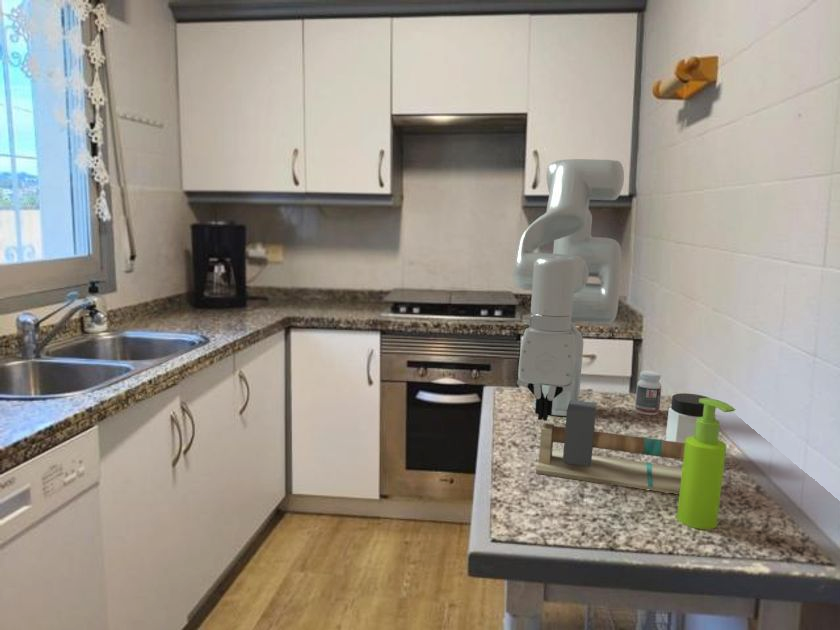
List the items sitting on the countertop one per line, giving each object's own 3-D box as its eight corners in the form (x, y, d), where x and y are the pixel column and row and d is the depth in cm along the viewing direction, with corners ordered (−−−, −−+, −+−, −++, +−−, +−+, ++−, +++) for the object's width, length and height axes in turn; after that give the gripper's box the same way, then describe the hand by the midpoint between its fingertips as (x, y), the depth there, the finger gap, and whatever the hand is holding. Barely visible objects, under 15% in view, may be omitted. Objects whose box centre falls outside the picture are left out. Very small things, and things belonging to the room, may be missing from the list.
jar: (692, 466, 130) (698, 406, 128) (656, 452, 136) (662, 396, 135) (718, 458, 135) (725, 401, 133) (683, 445, 141) (689, 391, 140)
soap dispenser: (702, 535, 101) (717, 408, 98) (668, 515, 108) (681, 395, 104) (730, 529, 104) (745, 405, 101) (696, 510, 110) (709, 393, 107)
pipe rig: (543, 451, 134) (546, 416, 133) (703, 474, 126) (708, 436, 124) (535, 473, 123) (538, 434, 121) (711, 500, 114) (716, 458, 113)
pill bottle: (662, 416, 162) (666, 376, 161) (638, 415, 162) (642, 375, 161) (654, 409, 168) (658, 371, 166) (631, 408, 168) (635, 370, 166)
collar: (566, 449, 130) (570, 399, 129) (592, 452, 129) (596, 402, 127) (562, 462, 123) (566, 410, 122) (590, 466, 122) (595, 413, 120)
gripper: (507, 322, 123) (500, 418, 125) (590, 330, 118) (582, 429, 121) (513, 317, 130) (507, 408, 132) (592, 324, 126) (584, 418, 128)
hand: (543, 418), depth 127 cm, fingers closed
